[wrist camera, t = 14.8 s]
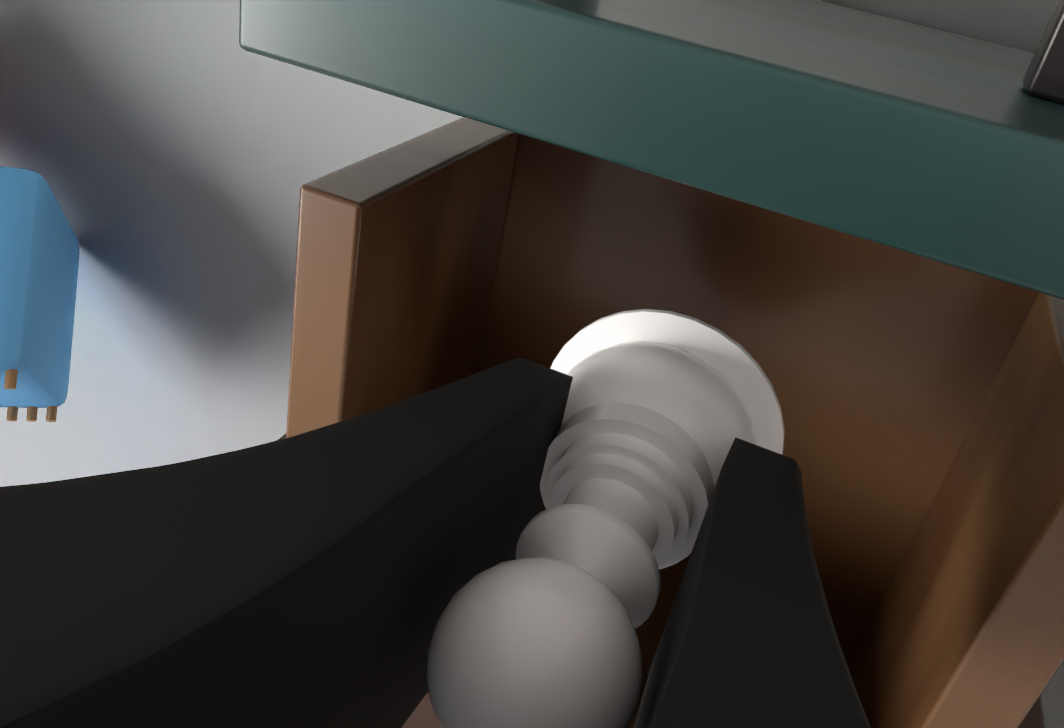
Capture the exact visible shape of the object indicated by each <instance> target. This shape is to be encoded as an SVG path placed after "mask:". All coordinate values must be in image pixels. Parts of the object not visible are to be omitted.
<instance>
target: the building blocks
mask: <svg viewBox="0 0 1064 728" xmlns="http://www.w3.org/2000/svg"><path fill="white" fill-rule="evenodd" d="M78 266H79V243H78V240H77V237H76V235H75V234H74V232H73V230H72V228H71V226H70V224H69V222H68V220H67V218H66V217H65V215H64V213H63V211H62V209H61V207H60V205H59V203H58V201H57V200H56V198H55V196H54V194H53V192H52V190H51V188H50V186H49V184H48V183H47V181H46V180H45V179H44V178H43V177H42V176H41V175H40V174H39V173H37V172H34V171H32V170H27V169H22V168H12V167H2V166H0V407H8V410H7V421H17V412H18V407H23V408H27V419H26V421H36V419H37V409H38V408H47V415H46V421H49V422H55V421H56V414H57V406H60V405H62V404H63V403H64V402H65V399H66V397H67V391H68V382H69V370H70V359H71V347H72V335H73V324H74V312H75V300H76V289H77V277H78Z"/></svg>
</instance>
